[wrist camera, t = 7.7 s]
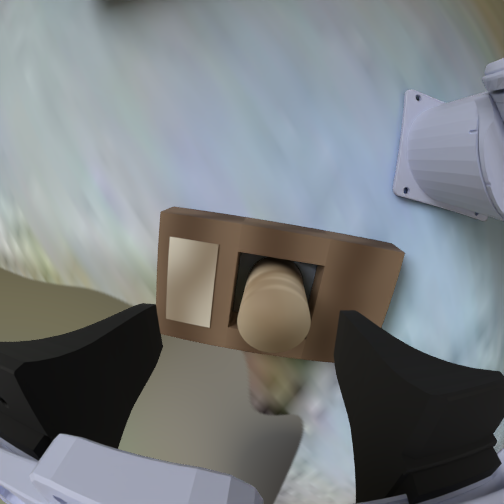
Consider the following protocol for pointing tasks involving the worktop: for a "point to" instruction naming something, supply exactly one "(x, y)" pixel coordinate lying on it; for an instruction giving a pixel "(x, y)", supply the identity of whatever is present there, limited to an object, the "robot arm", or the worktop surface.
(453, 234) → the worktop surface
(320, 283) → the hole plate
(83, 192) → the worktop surface
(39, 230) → the worktop surface
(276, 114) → the worktop surface
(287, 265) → the peg
